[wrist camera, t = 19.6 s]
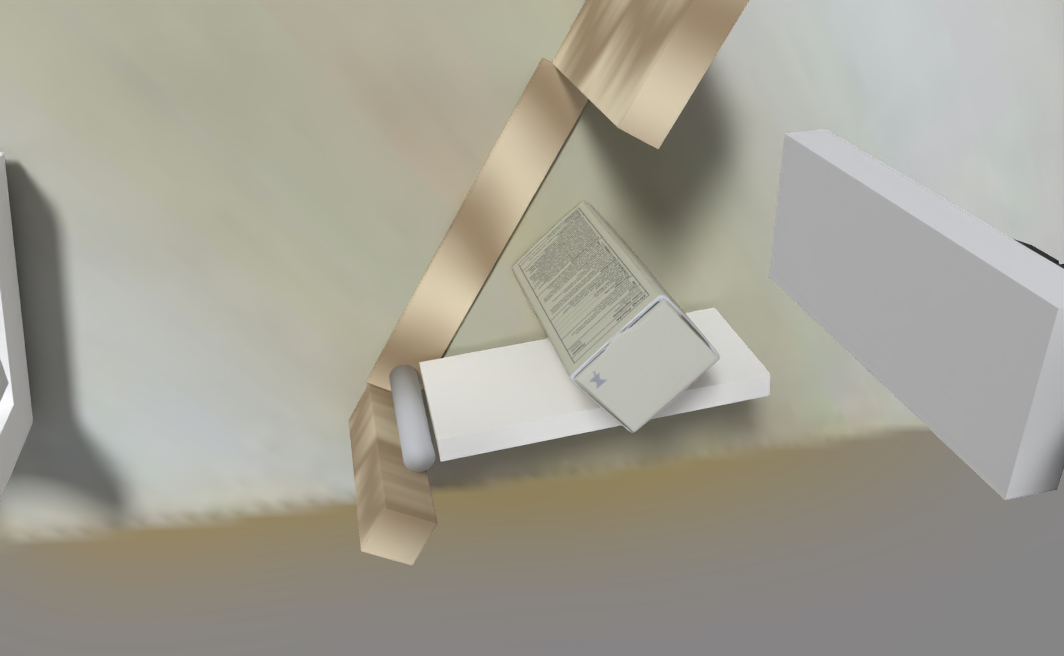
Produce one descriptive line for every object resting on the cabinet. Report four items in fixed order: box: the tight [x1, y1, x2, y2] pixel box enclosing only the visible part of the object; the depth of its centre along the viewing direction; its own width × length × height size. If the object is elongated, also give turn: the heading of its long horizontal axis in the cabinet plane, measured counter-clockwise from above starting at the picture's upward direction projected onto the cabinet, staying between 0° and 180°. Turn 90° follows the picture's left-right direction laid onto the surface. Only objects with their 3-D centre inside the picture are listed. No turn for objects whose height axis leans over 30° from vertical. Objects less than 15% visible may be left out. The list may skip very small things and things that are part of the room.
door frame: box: [349, 0, 749, 565], centre depth 41 cm, size 27×3×10 cm, turn 150°
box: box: [512, 201, 720, 433], centre depth 42 cm, size 5×4×11 cm
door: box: [389, 308, 770, 472], centre depth 46 cm, size 17×2×7 cm, turn 95°
